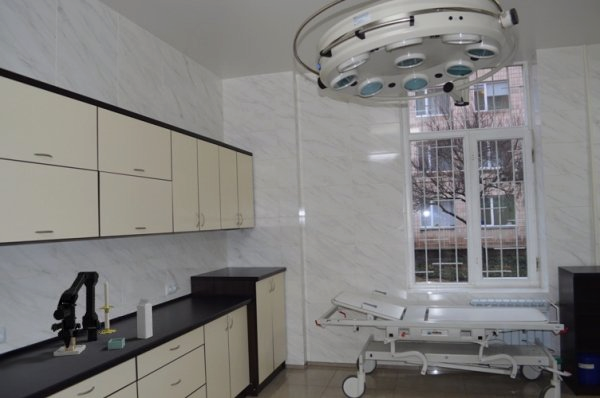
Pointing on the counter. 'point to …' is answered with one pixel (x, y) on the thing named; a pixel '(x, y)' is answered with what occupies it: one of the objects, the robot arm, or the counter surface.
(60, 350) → the dish
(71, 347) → the beige jar
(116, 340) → the light blue box
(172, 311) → the counter surface
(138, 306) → the milk
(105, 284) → the candle
